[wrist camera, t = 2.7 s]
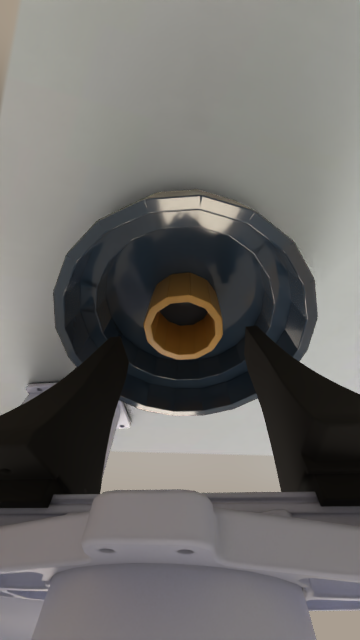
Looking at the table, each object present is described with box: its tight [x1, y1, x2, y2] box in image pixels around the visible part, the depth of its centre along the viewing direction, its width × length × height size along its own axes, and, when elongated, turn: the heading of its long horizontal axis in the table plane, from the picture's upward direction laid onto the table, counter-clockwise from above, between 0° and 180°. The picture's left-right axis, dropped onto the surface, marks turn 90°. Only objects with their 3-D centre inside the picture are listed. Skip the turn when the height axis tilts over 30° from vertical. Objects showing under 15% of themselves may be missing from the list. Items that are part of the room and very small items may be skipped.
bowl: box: [53, 189, 318, 416], centre depth 16 cm, size 15×15×5 cm
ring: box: [143, 273, 223, 360], centre depth 16 cm, size 5×5×4 cm
